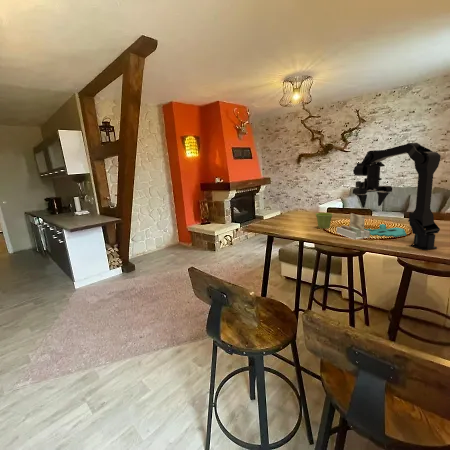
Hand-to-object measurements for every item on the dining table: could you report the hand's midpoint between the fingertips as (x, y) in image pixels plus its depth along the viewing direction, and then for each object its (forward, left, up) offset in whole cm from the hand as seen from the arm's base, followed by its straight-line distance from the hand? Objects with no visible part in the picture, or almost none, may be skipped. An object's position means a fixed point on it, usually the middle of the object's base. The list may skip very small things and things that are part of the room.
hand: (371, 206), depth 132 cm
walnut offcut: (0, +15, -13) cm, 19 cm away
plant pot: (+18, +16, -14) cm, 28 cm away
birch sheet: (-2, +10, -13) cm, 17 cm away
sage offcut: (-4, +13, -13) cm, 19 cm away
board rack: (-2, +13, -14) cm, 19 cm away
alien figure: (-3, -5, -15) cm, 16 cm away
